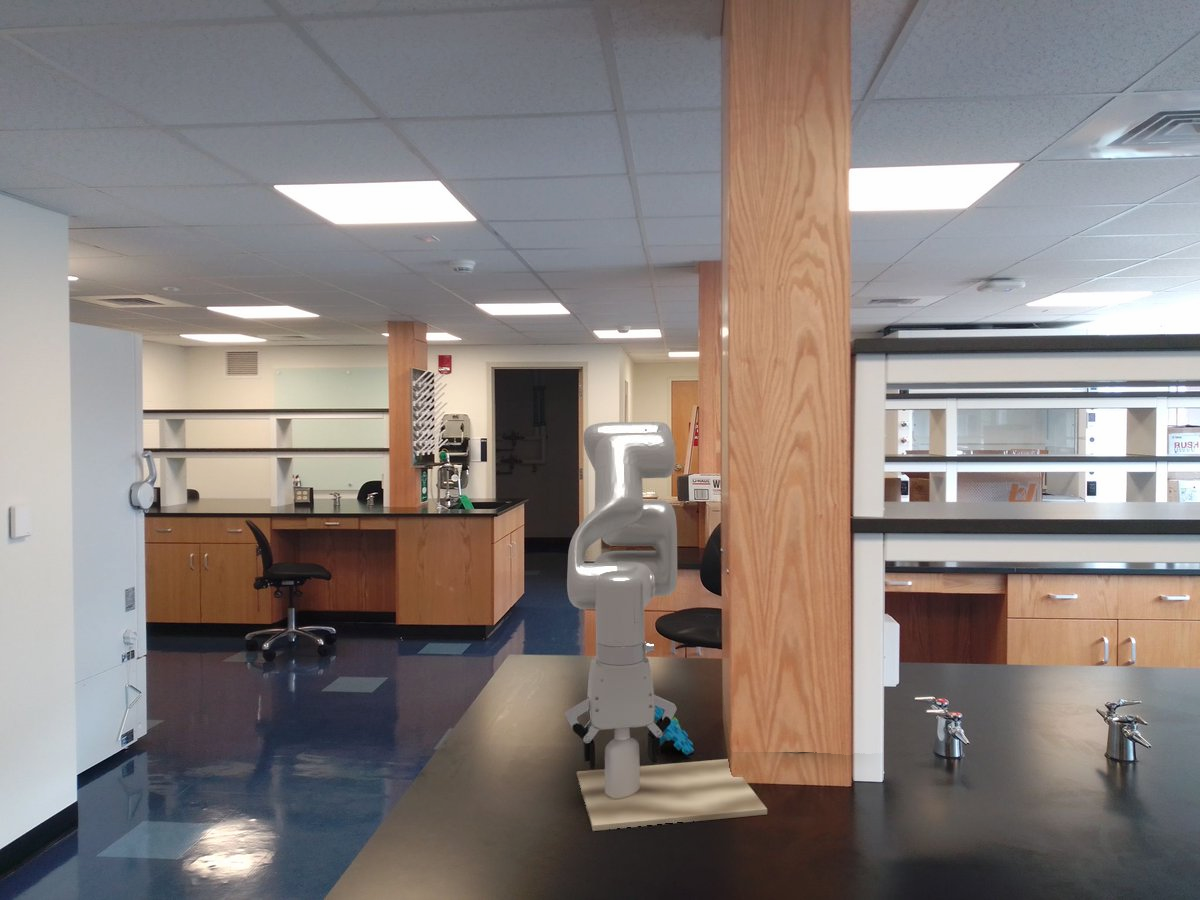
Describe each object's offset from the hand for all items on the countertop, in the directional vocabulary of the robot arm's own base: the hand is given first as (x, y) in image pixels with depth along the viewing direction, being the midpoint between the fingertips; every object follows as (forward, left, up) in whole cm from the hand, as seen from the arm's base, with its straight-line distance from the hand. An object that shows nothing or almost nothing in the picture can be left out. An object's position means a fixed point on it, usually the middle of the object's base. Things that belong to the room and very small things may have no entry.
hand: (622, 762), depth 121 cm
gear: (-16, +12, -6) cm, 21 cm away
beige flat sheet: (0, +7, -6) cm, 9 cm away
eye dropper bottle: (0, 0, -5) cm, 5 cm away
